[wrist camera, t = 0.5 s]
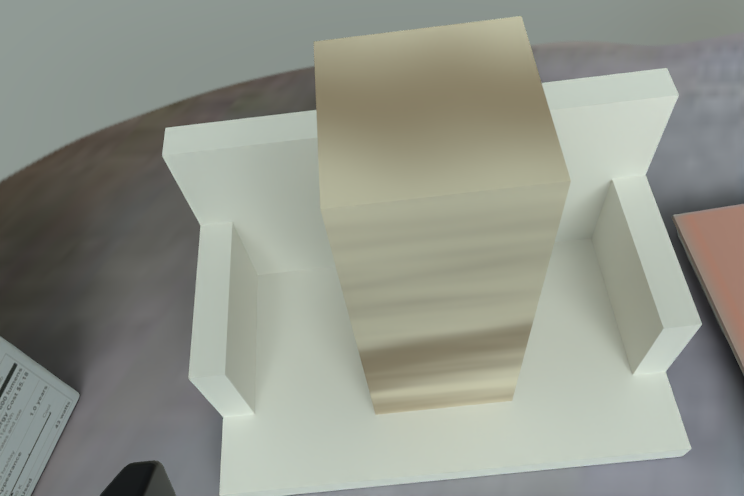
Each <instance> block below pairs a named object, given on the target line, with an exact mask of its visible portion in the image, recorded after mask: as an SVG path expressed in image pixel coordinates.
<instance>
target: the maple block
mask: <svg viewBox="0 0 744 496" xmlns="http://www.w3.org/2000/svg"><path fill="white" fill-rule="evenodd" d="M314 60H315V61H314V62H315V87H316V112H317V138H318V163H319V188H320V210H321V214H322V218H323V221H324V225H325V229H326V232H327V236H328V240H329V244H330V247H331V251H332V255H333V258H334V262H335V266H336V270H337V273H338V277H339V281H340V284H341V288H342V292H343V296H344V299H345V303H346V307H347V310H348V314H349V318H350V322H351V325H352V329H353V333H354V336H355V340H356V344H357V348H358V351H359V355H360V359H361V362H362V366H363V370H364V374H365V377H366V381H367V385H368V389H369V392H370V396H371V400H372V403H373V407H374V411H375V415H378V414H388V413H398V412H408V411H418V410H427V409H437V408H447V407H457V406H466V405H476V404H486V403H496V402H506V401H512V399H513V395H514V392H515V388H516V384H517V380H518V377H519V373H520V369H521V365H522V362H523V358H524V354H525V350H526V347H527V343H528V339H529V336H530V332H531V328H532V324H533V321H534V317H535V313H536V309H537V306H538V302H539V298H540V295H541V291H542V287H543V283H544V280H545V276H546V272H547V268H548V265H549V261H550V257H551V254H552V250H553V246H554V242H555V239H556V235H557V231H558V227H559V224H560V220H561V216H562V212H563V209H564V205H565V201H566V198H567V194H568V190H569V186H570V183H571V179H570V176H569V173H568V169H567V166H566V163H565V159H564V156H563V153H562V149H561V146H560V143H559V140H558V136H557V133H556V130H555V126H554V123H553V120H552V116H551V113H550V110H549V106H548V103H547V100H546V96H545V93H544V90H543V86H542V83H541V80H540V76H539V73H538V70H537V66H536V63H535V60H534V56H533V53H532V50H531V46H530V43H529V40H528V36H527V33H526V30H525V26H524V23H523V20H522V16H518V17H509V18H501V19H493V20H485V21H477V22H469V23H461V24H453V25H445V26H436V27H428V28H420V29H413V30H404V31H396V32H388V33H379V34H371V35H364V36H355V37H347V38H339V39H331V40H323V41H314Z"/></svg>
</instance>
